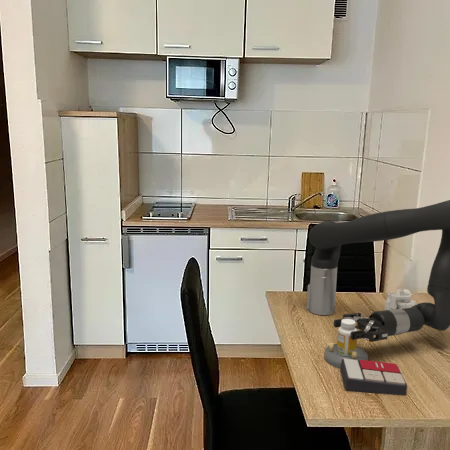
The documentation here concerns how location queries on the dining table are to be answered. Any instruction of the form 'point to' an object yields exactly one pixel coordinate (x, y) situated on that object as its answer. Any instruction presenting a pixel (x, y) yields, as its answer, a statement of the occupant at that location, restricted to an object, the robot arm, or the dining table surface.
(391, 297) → the mechanical part
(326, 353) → the pin base
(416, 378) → the dining table surface
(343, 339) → the supplement bottle
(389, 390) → the calculator
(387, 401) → the dining table surface
